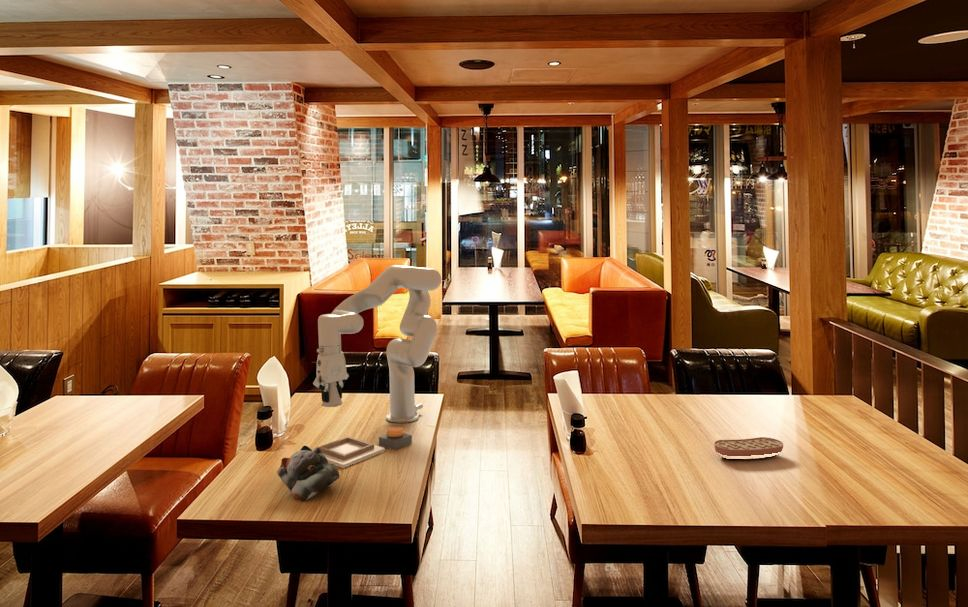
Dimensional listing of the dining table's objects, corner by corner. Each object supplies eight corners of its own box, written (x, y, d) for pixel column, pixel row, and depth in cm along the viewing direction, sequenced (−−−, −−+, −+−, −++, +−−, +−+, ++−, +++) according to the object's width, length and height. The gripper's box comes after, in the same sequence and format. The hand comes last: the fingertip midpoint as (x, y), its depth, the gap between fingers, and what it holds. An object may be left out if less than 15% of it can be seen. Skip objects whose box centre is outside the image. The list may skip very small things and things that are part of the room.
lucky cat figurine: (297, 506, 175) (275, 460, 176) (290, 506, 185) (269, 463, 186) (346, 479, 182) (324, 435, 183) (336, 480, 193) (316, 439, 193)
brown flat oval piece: (771, 450, 216) (772, 436, 215) (790, 461, 206) (791, 447, 206) (708, 454, 212) (709, 440, 212) (724, 466, 203) (725, 451, 202)
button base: (395, 438, 227) (395, 430, 227) (411, 443, 223) (411, 435, 222) (378, 445, 221) (378, 436, 221) (395, 450, 216) (395, 441, 216)
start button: (395, 437, 226) (395, 425, 225) (407, 441, 222) (407, 429, 222) (383, 442, 221) (382, 430, 221) (395, 446, 218) (395, 433, 217)
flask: (337, 408, 222) (336, 380, 221) (318, 407, 224) (316, 379, 222) (346, 402, 229) (345, 375, 228) (327, 401, 231) (326, 374, 229)
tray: (349, 440, 226) (348, 432, 226) (384, 451, 215) (384, 443, 215) (307, 455, 212) (306, 447, 211) (343, 468, 201) (343, 460, 201)
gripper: (316, 355, 215) (318, 407, 217) (356, 346, 228) (357, 396, 230) (303, 352, 219) (305, 403, 222) (342, 344, 232) (344, 392, 235)
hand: (332, 399), depth 226 cm, fingers closed on flask, 4 cm apart
